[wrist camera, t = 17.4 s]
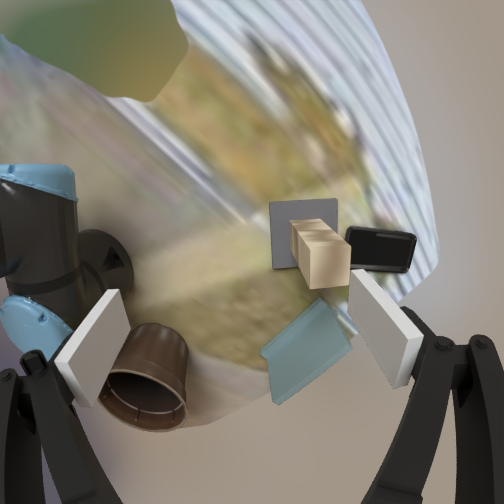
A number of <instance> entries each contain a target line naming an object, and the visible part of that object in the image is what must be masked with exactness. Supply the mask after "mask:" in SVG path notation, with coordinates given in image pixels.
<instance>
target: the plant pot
mask: <svg viewBox="0 0 504 504" xmlns="http://www.w3.org/2000/svg"><path fill="white" fill-rule="evenodd" d="M187 355H188V350H187V346H186V344H185V342H184V340H183V339H182V337H181V336H180V335H179V334H178V333H177V332H175V331H174V330H173V329H171V328H166V327H164V326H162V325H160V324H156V323H148V324H144V325H141V326H139V327H137V328H136V329H135V330H134V331H133V332H132V334H131V335H130V337H129V338H128V340H127V341H126V343H125V344H124V346H123V347H122V349H121V350H120V352H119V354H118V356H117V358H116V360H115V362H114V364H113V366H112V368H111V370H110V372H109V374H108V376H107V378H106V381H105V383H104V385H103V387H102V389H101V391H100V394H99V396H98V398H97V400H98V402H99V404H100V405H101V406H102V407H103V408H104V409H105V410H106V411H107V412H108V413H109V414H110V415H111V416H113V417H114V418H116V419H117V420H119V421H120V422H122V423H124V424H126V425H128V426H130V427H133V428H136V429H139V430H143V431H149V432H168V431H173V430H175V429H178V428H179V427H181V426H182V425H183V424H184V423H185V422H186V420H187V417H188V408H187V405H186V392H185V376H186V365H187Z"/></svg>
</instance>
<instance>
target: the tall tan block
mask: <svg viewBox="0 0 504 504" xmlns="http://www.w3.org/2000/svg"><path fill="white" fill-rule="evenodd" d="M290 249H291V252H292V254H293V256H294V258H295V260H296V262H297V264H298V266H299V268H300V270H301V272H302V274H303V276H304V278H305V280H306V282H307V284H308V286H309V288H310V289H318V288H327V287H336V286H344V285H349V275H350V259H351V246H350V245H349V244H348V243H347V242H346V241H344V240H343V239H342V238H341V237H340V236H339V235H338V234H337V233H336V232H335V231H333V230H332V229H331V228H330V227H329V226H328V225H327V224H326V223H324V222H323V221H322V220H321V219H305V220H290Z"/></svg>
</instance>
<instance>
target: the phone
mask: <svg viewBox="0 0 504 504" xmlns="http://www.w3.org/2000/svg"><path fill="white" fill-rule="evenodd" d="M344 241H346V242H347V243H348V244H349V245H350V246H351V259H350V270H358V269H364V270H365V271H379V272H395V273H406V272H407V271H408V270H409V268H410V265H411V261H412V257H413V254H414V250H415V246H416V242H417V237H416V236H415V235H414V234H412V233H407V232H406V233H405V232H401V231H400V232H399V231H391V230H384V229H376V228H368V227H361V226H350V227H348V228H347V230H346V235H345V240H344Z"/></svg>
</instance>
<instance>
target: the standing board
mask: <svg viewBox="0 0 504 504" xmlns="http://www.w3.org/2000/svg"><path fill="white" fill-rule="evenodd" d="M337 316H338V314H337V312H336V310H334V309H333V308H332V307H331V306H330V305H329V304H328V303H326V302H325V301H324V300H323V299H322V298H321V297H318V298H317V299H316V300H315V301H314V302H313V303H312V304H311V305H310V306H309V307H308V308H307V309H306V310H305V311H303V312H302V313H301V314H300V315H299V316H298V317H297V318H296V319H295V320H294V321H292V322H291V323H290V324H289V325H288V326H287V327H286V328H285V329H284V330H282V331H281V332H280V333H279V334H278V335H277V336H276V337H274V338H273V339H272V340H271V341H270V342H269V343H268V344H266V345H265V346H264V347H263V348H262V349H261V350H260V355H261V356H263V357H264V358H266V359H267V365H268V373H269V380H270V387H271V394H272V402H274V403H276V404H277V405H280V404H281V403H283V402H284V401H286V400H287V399H288V398H290V397H291V396H293V395H294V394H295V393H297V392H298V391H300V390H301V389H302V388H304V387H305V386H306V385H308V384H309V383H310V382H312V381H313V380H314V379H316V378H317V377H318V376H320V375H321V374H322V373H323V372H325V371H326V370H327V369H328V368H330V367H331V366H332V365H333V364H335V363H336V362H337V361H338V360H340V359H341V358H342V357H343V356H344V355H346V354H347V353H348V352H349V351H350V350H351V349H353V347H352V345H351V343H350V341H349V339H348V337H347V336H346V334H345V332H344V330H343V328H342V326H341V324H340V323H339V321H338V319H337Z"/></svg>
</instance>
